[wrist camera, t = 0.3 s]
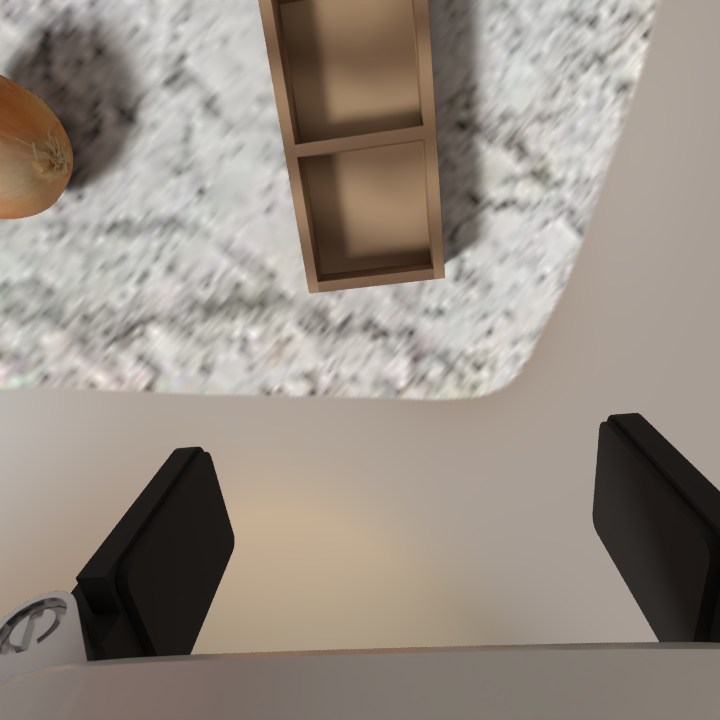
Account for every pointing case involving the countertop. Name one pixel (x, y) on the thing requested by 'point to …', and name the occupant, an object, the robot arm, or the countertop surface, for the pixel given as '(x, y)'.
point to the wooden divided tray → (358, 137)
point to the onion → (30, 153)
